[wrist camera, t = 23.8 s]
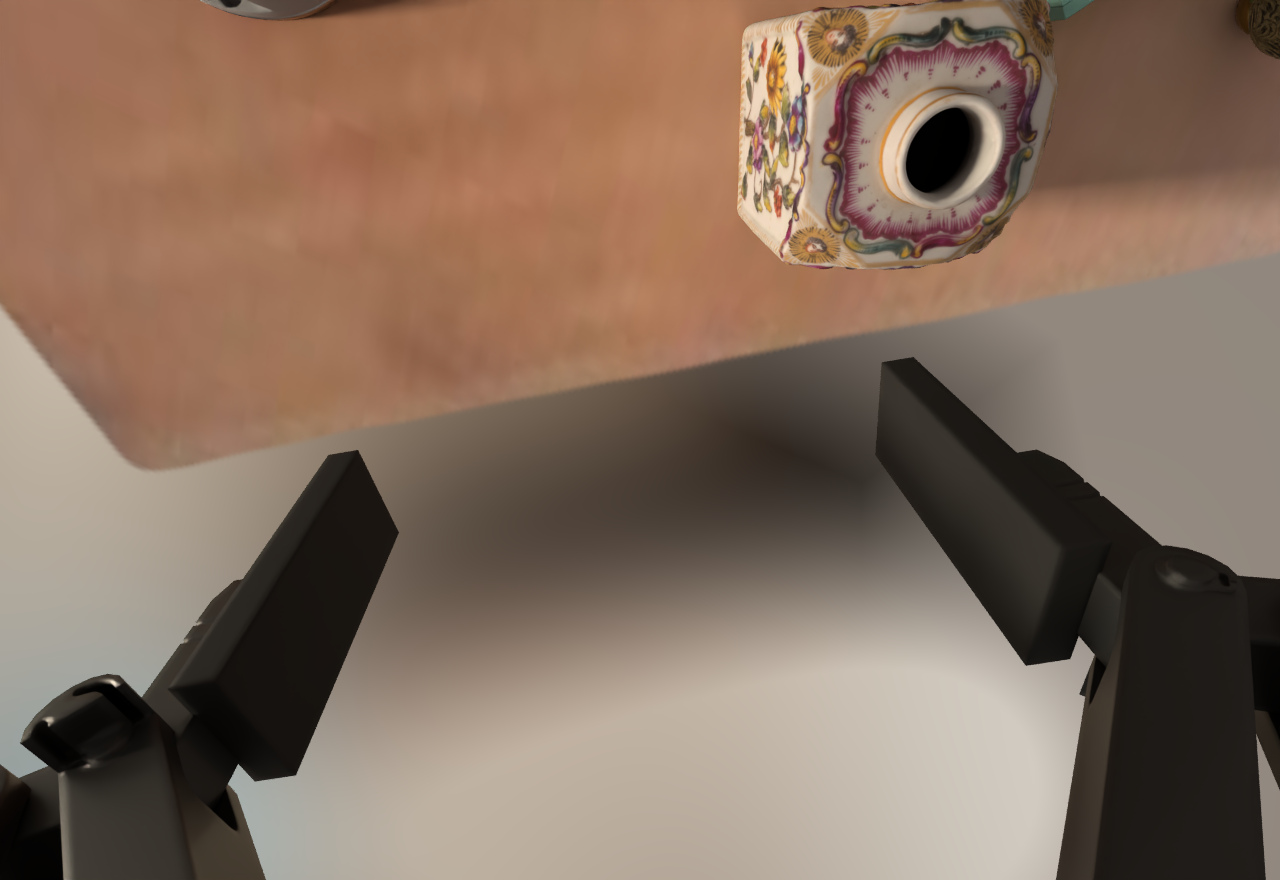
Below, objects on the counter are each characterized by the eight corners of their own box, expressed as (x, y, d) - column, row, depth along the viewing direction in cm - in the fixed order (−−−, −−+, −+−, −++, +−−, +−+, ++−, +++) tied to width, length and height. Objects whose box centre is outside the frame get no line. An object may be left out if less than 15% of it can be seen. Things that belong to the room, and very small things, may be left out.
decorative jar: (922, 11, 38) (1139, -24, 23) (891, 205, 44) (1045, 278, 29) (735, 24, 38) (827, -4, 22) (730, 216, 44) (801, 297, 29)
